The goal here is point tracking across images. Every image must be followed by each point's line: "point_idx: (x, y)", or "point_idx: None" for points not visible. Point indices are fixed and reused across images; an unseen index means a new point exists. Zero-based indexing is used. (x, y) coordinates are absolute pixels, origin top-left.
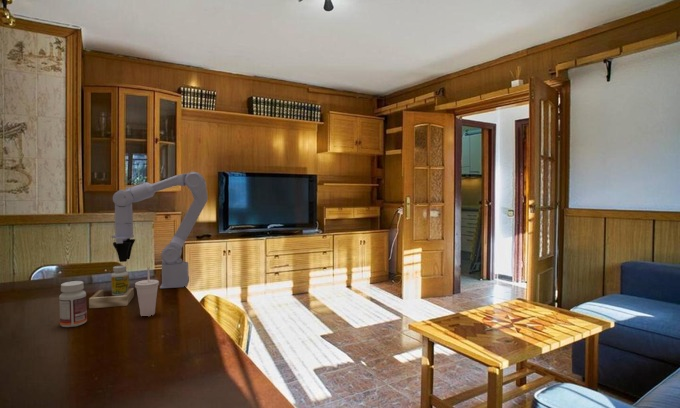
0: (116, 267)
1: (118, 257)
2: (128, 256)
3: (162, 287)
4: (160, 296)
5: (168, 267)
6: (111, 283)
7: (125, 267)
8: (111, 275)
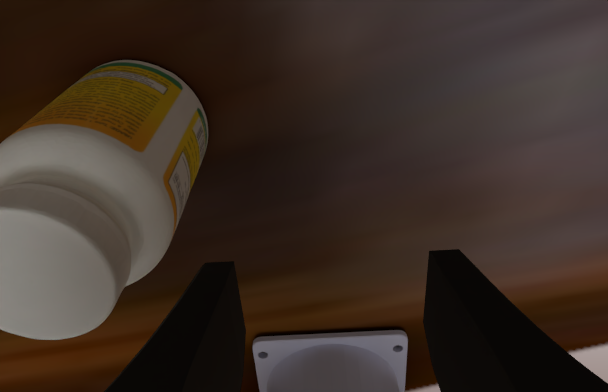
0: None
1: (176, 305)
2: (432, 352)
3: (254, 355)
4: (74, 365)
5: None
6: (65, 96)
7: (36, 332)
8: (6, 142)
